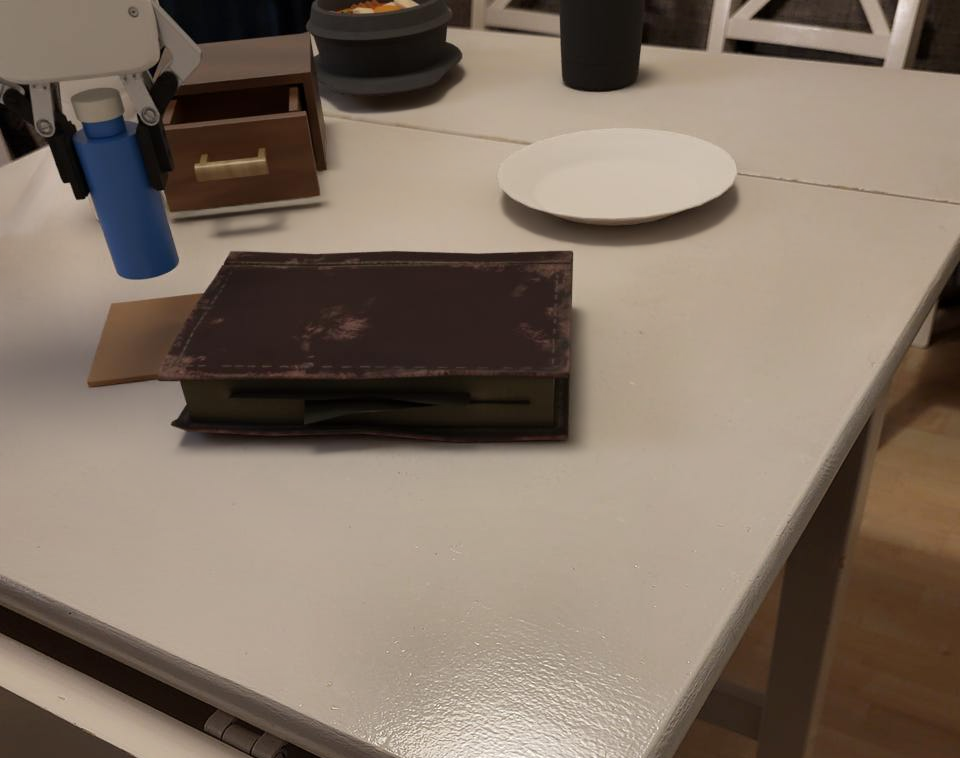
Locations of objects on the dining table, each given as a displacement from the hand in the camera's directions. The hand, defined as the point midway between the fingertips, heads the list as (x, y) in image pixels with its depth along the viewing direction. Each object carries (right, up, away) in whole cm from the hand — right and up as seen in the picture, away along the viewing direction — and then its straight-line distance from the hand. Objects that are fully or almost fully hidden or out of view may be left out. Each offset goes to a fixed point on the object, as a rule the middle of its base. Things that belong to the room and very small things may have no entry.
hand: (122, 184), depth 65 cm
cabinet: (+1, +19, +35) cm, 40 cm away
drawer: (+2, +11, +26) cm, 29 cm away
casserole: (+13, +35, +51) cm, 63 cm away
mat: (+1, -8, +8) cm, 11 cm away
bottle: (0, -4, +4) cm, 6 cm away
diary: (+18, -12, +2) cm, 21 cm away
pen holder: (+38, +32, +46) cm, 68 cm away
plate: (+36, +9, +22) cm, 43 cm away
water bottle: (-10, +9, +26) cm, 29 cm away
